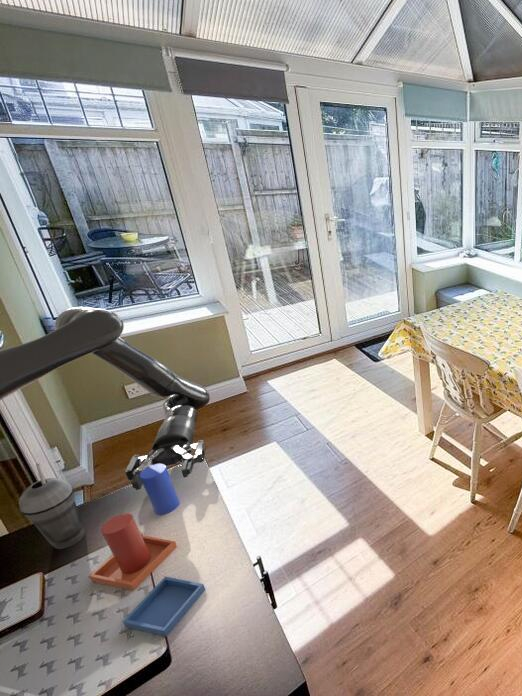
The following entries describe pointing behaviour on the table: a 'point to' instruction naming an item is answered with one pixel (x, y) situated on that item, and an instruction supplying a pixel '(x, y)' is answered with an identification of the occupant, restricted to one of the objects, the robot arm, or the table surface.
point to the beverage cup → (53, 510)
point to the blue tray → (164, 606)
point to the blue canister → (159, 489)
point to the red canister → (126, 543)
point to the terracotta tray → (114, 577)
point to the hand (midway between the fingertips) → (161, 480)
